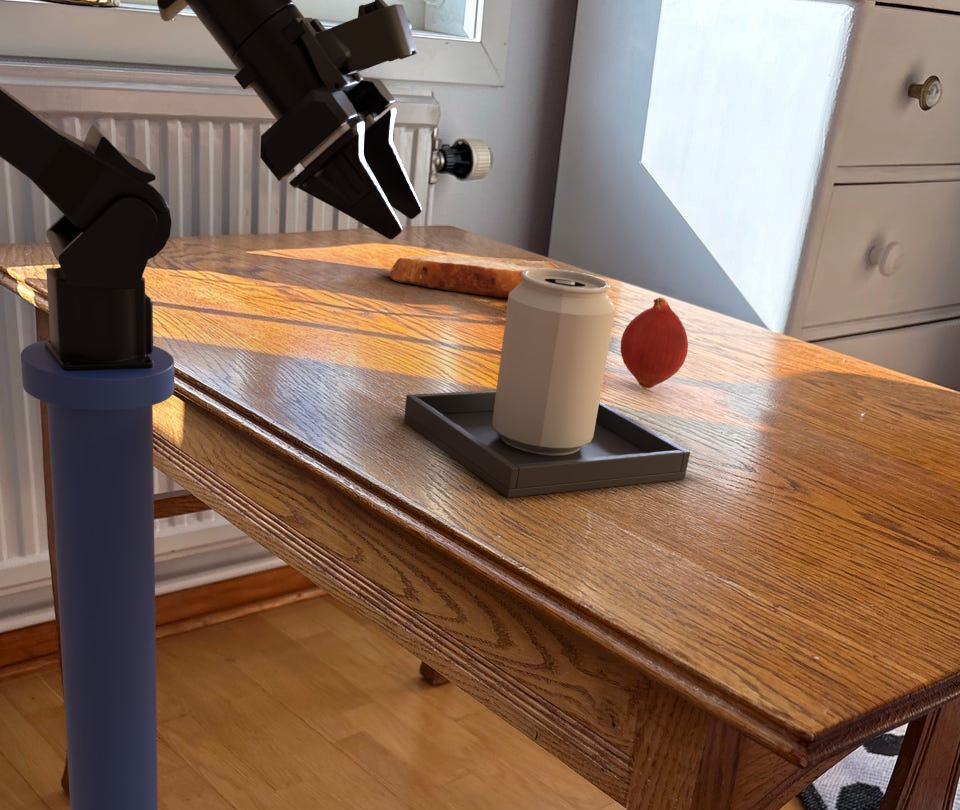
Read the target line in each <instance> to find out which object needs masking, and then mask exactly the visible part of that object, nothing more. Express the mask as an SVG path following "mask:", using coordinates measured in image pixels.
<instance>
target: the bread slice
mask: <svg viewBox="0 0 960 810" xmlns="http://www.w3.org/2000/svg"><path fill="white" fill-rule="evenodd" d="M533 268H551V269H561V267H559V266H558V265H556V264H555V263H553V262H551V261H538V260H527V259H521V258H515V257H514V258H509V257H508V258H507V257H497V258H496V257H490V256H460V255H452V256H451V255H450V256H448V255H424V256H417V255H414V256H403V257H399V258H398V259H396V261H395V263H394V264H393V265H392V267H391V269H390V271H389V274H388V276H389V278H390V279H391V280H393V281H395V282H398V283H401V284H402V283H403V284H410V285H414V286H415V285H416V286H420V287H426V288H429V289H438V290H443V291H451V292H458V293H463V294H472V295H477V296H487V297H494V298H504V299H508V297H509V293H510V292H511V291H512V290H513V289H514V288H515V287H517V286H518V285H519V284H520V283H521V282H522V277H521V273H522V272H523V271H525V270H528V269H533Z"/></svg>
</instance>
